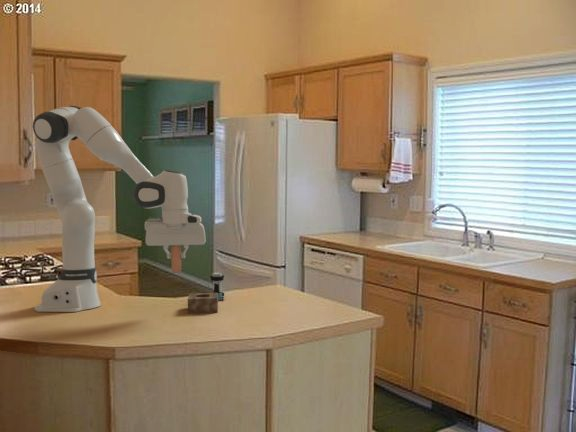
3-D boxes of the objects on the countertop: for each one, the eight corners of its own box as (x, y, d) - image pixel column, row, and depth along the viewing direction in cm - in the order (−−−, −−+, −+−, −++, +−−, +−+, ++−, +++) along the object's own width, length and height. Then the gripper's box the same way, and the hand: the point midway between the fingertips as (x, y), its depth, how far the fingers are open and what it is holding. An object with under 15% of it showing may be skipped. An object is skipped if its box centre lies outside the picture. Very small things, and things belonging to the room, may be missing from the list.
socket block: (187, 313, 214) (187, 299, 214) (190, 307, 224) (189, 293, 224) (217, 312, 215) (217, 298, 215) (218, 306, 225) (217, 292, 225)
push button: (230, 299, 237) (229, 273, 237) (221, 301, 233) (220, 275, 232) (216, 297, 241) (216, 271, 240) (207, 300, 236) (207, 273, 236)
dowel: (171, 273, 212) (170, 246, 212) (172, 271, 216) (171, 245, 215) (180, 272, 213) (180, 246, 212) (181, 271, 216) (181, 245, 215)
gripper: (142, 219, 209) (144, 260, 210) (204, 218, 210) (205, 258, 211) (145, 217, 215) (146, 257, 216) (205, 216, 217) (206, 256, 218)
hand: (176, 258), depth 214 cm, fingers closed on dowel, 3 cm apart
